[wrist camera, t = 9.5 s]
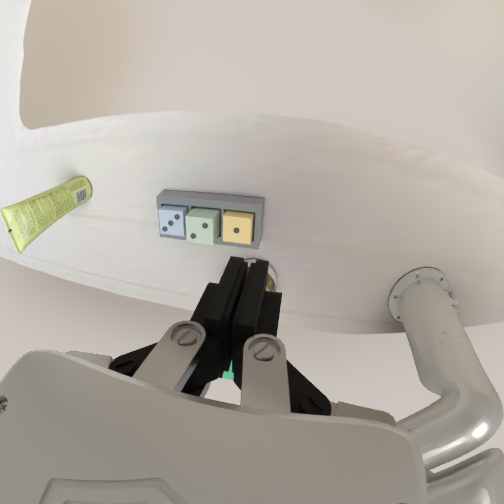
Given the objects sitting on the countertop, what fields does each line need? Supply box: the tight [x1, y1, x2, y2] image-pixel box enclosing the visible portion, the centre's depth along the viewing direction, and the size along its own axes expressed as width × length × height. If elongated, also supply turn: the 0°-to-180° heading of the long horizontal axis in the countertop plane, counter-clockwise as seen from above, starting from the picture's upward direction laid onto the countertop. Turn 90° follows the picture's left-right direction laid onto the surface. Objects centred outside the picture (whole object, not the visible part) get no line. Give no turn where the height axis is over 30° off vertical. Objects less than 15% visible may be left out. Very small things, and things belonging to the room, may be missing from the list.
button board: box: [157, 190, 264, 249], centre depth 42 cm, size 16×7×3 cm, turn 86°
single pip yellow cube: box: [223, 209, 255, 244], centre depth 40 cm, size 4×4×4 cm
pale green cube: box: [185, 207, 220, 245], centre depth 39 cm, size 4×4×4 cm
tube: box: [0, 177, 92, 255], centre depth 36 cm, size 6×5×20 cm
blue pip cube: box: [158, 204, 189, 236], centre depth 41 cm, size 4×4×4 cm
